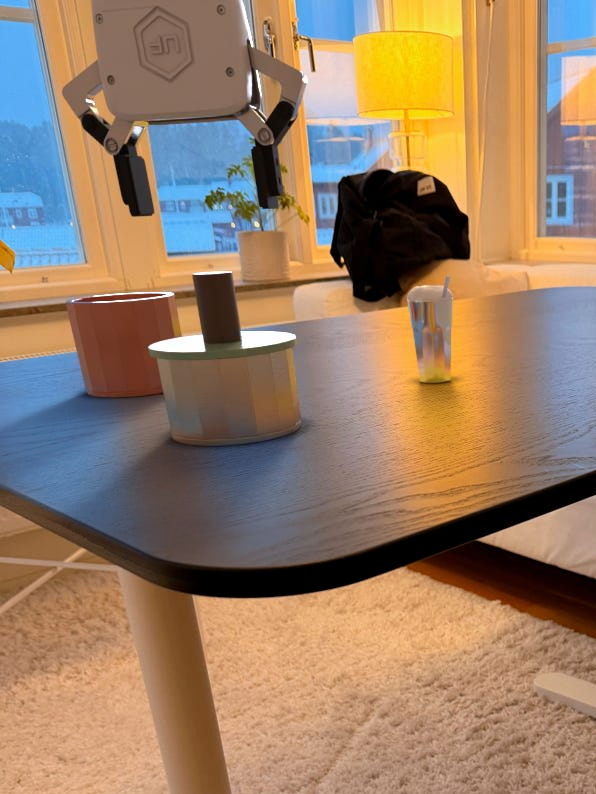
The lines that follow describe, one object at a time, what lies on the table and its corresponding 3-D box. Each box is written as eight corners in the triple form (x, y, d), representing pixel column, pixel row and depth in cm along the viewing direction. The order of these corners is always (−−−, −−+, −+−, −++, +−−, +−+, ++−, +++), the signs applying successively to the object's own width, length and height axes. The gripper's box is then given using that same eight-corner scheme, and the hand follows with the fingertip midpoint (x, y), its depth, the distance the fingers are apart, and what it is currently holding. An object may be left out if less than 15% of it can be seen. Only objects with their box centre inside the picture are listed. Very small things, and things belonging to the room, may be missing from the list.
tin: (152, 448, 69) (135, 361, 66) (196, 418, 78) (182, 341, 75) (284, 443, 68) (272, 356, 65) (312, 415, 77) (303, 337, 75)
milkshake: (435, 387, 87) (428, 278, 83) (404, 381, 91) (396, 276, 86) (471, 380, 90) (466, 274, 85) (439, 374, 93) (433, 272, 89)
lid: (127, 371, 66) (108, 281, 63) (180, 348, 76) (166, 270, 73) (278, 365, 65) (266, 275, 62) (311, 343, 75) (301, 265, 72)
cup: (69, 399, 89) (46, 304, 85) (111, 380, 99) (93, 294, 95) (169, 395, 89) (151, 300, 85) (203, 377, 98) (187, 290, 94)
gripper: (0, -81, 55) (71, 220, 63) (271, -103, 54) (309, 206, 62) (56, -51, 62) (114, 218, 70) (298, -69, 61) (330, 205, 69)
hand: (206, 212), depth 66 cm, fingers open, 9 cm apart
